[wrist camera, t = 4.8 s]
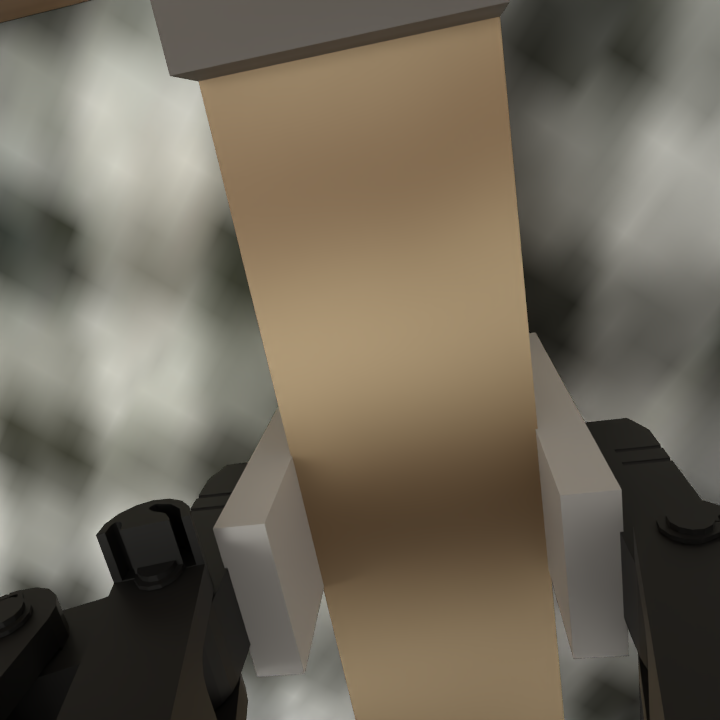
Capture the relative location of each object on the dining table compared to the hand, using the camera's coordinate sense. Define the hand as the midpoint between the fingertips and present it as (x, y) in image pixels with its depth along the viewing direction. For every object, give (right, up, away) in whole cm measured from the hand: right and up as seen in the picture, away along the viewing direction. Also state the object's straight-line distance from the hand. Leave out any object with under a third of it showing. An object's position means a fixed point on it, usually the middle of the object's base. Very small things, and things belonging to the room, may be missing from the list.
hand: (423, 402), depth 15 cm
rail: (0, 0, 0) cm, 0 cm away
